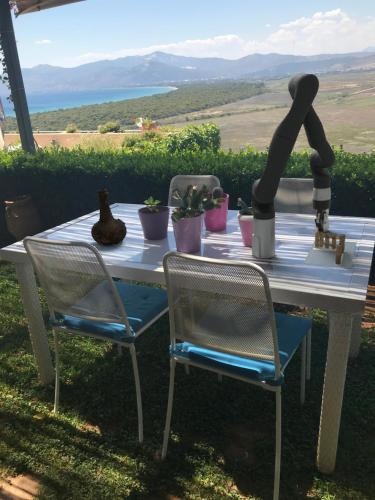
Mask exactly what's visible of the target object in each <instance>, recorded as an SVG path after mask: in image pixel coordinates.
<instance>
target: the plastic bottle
mask: <svg viewBox="0 0 375 500" xmlns="http://www.w3.org/2000/svg"><path fill="white" fill-rule="evenodd" d="M326 212H327V217H326V224H325V226H324V233H328V231H329V230H330V222H329V212H330V208H329V209H327V210H326ZM314 229H315V231H318V228H317V227H316V224H315V225H314Z"/></svg>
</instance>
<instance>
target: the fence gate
mask: <svg viewBox="0 0 375 500" xmlns="http://www.w3.org/2000/svg"><path fill="white" fill-rule="evenodd" d="M341 235H343V236H345V237H346V234H344V233H341V234H340V235H338V234H337V233H332V234H331V233H330V232H320V234H319V231H316V230H315V231H314V241H315V247H322V248H323V246H325V248H329V246H330V247H332V249H336V246H337V245H339V244H336V241H339V240H340V236H341ZM330 239H331V241H332V243H329V240H330ZM324 240H325V242H324ZM345 241H346V240H345ZM345 241H344V248H345Z"/></svg>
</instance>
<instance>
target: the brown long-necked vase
mask: <svg viewBox="0 0 375 500" xmlns="http://www.w3.org/2000/svg"><path fill="white" fill-rule="evenodd" d="M109 194H110V192H109V191H108V190H107V188H100V189H98V190H97V193H96V196H98V204H99V206H98V207H99V217H98V220H97V221H96V222H95V223H93V224H92V227H91V229H90V235H91V238H92V239H93V240H94V241H95V243H97V244H98V245H100V246H105V247H109V246H110V247H111V246H115V245H118V244H120V243H122V242H123V241H124V240H125V238H126V236H127V234H128V233H127V232H128V231H127V226H126V222H124V220H122V219H120V218H115V217H114V216H113V215H114V214H113V213H112V210H111V206H110V201H109V196H108V195H109Z"/></svg>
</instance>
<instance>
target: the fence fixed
mask: <svg viewBox="0 0 375 500" xmlns="http://www.w3.org/2000/svg"><path fill="white" fill-rule="evenodd" d="M340 235H341V234H340ZM340 235H339V236H340ZM338 241H339V245H337V246H336V262H335V264H341V256H342V254H343V253H344V241H346V235H345V236H343V235H341V236H340V240H338Z"/></svg>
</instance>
